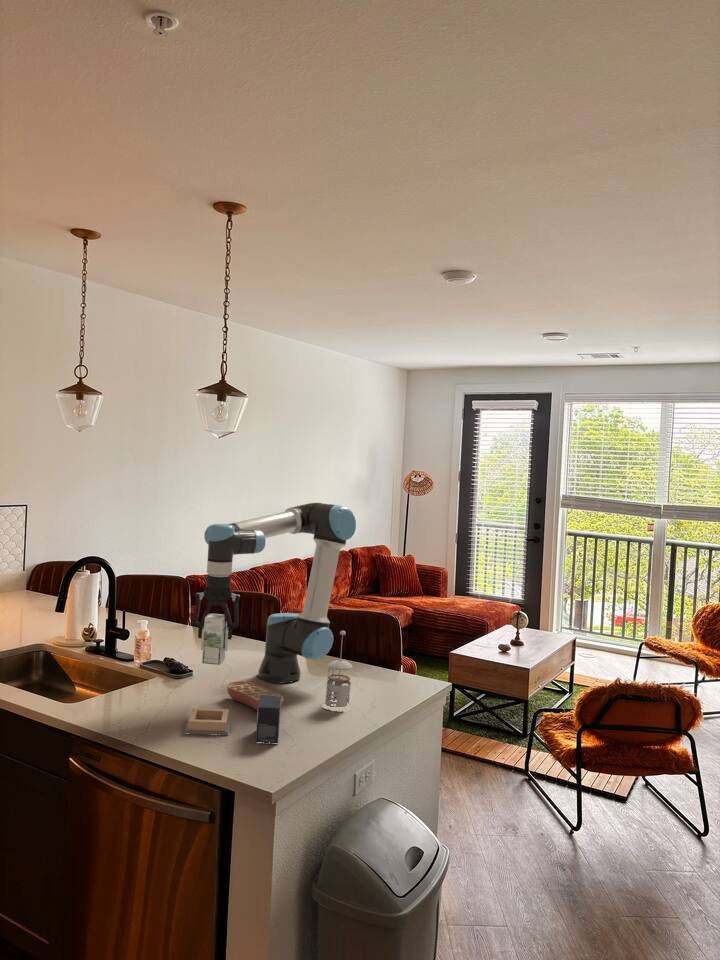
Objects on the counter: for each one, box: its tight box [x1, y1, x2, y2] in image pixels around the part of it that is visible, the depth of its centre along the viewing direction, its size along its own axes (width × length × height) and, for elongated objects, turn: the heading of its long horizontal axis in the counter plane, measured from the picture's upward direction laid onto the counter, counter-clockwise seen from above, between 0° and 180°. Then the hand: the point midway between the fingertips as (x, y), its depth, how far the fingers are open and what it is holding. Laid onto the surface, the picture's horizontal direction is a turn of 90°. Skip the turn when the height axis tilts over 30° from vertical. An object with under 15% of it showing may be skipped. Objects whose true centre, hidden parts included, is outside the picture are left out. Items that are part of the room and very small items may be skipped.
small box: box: [255, 695, 282, 744], centre depth 204 cm, size 11×6×10 cm, turn 5°
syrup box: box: [201, 612, 228, 666], centre depth 222 cm, size 6×6×14 cm
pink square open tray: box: [184, 707, 232, 736], centre depth 208 cm, size 12×12×4 cm
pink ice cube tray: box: [226, 681, 284, 711], centre depth 229 cm, size 23×10×5 cm, turn 46°
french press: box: [324, 630, 354, 707], centre depth 235 cm, size 10×12×25 cm
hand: (214, 649), depth 222 cm, fingers closed on syrup box, 6 cm apart
